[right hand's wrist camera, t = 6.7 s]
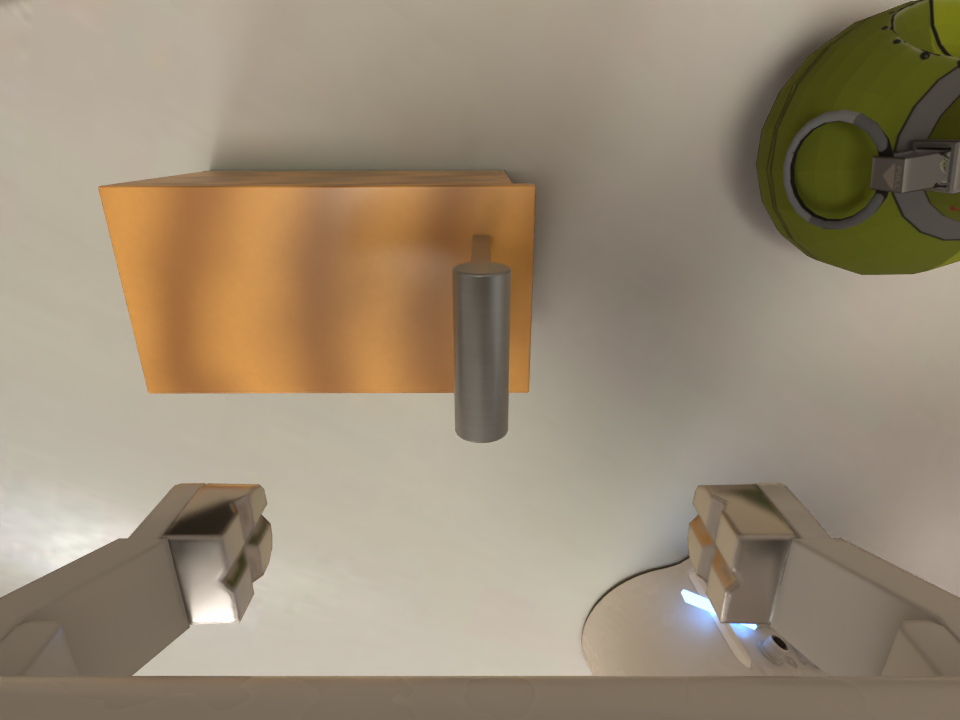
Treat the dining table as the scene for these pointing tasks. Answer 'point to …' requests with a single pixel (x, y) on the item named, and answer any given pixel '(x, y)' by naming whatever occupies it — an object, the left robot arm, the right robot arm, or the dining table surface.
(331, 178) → the chest
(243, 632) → the dining table surface
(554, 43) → the dining table surface
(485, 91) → the dining table surface
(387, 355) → the lid
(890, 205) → the grenade
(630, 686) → the right robot arm
